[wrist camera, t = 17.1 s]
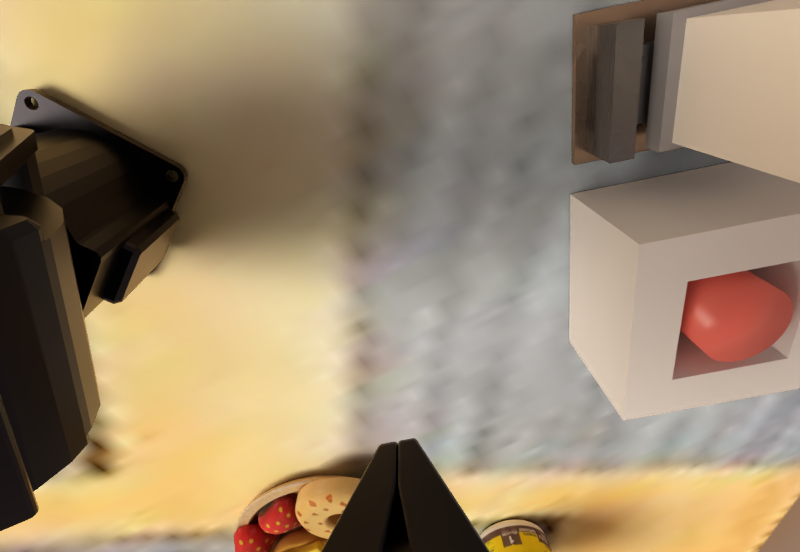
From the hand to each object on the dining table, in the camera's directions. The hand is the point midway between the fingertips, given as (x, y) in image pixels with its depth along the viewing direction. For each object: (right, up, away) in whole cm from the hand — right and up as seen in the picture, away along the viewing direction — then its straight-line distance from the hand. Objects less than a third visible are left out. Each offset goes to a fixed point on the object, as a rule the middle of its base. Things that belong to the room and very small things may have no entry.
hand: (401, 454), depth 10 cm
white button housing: (+13, +5, +13) cm, 19 cm away
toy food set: (-5, -14, +23) cm, 27 cm away
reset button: (+13, +4, +12) cm, 19 cm away
